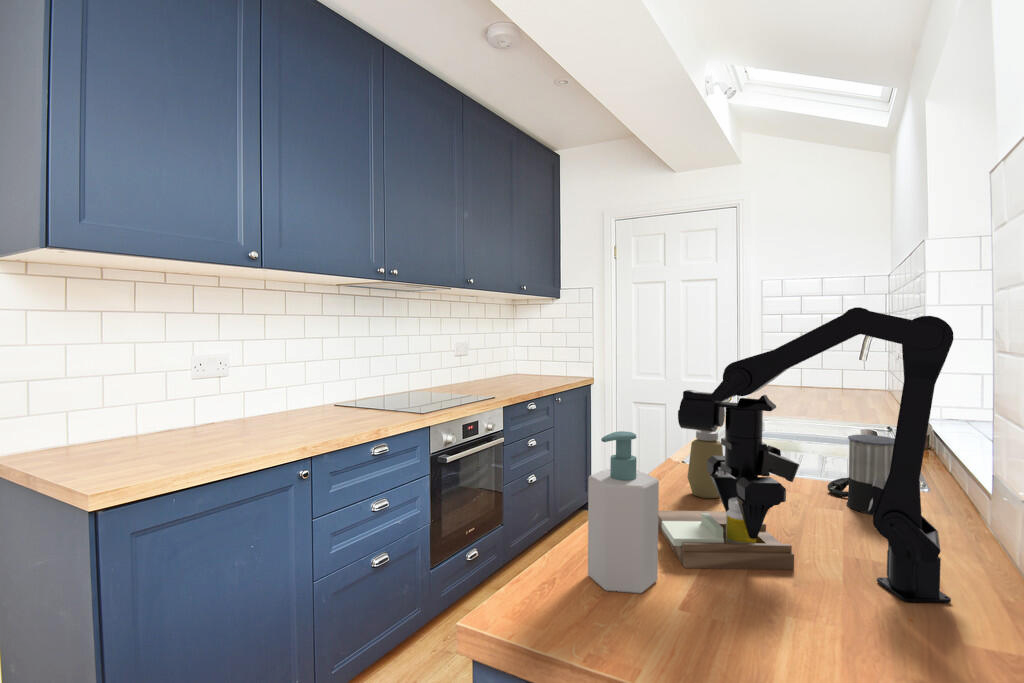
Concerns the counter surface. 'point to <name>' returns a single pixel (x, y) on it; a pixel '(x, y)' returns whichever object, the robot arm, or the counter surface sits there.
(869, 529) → the counter surface
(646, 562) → the soap bottle
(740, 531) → the supplement bottle
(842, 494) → the milk frother
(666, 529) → the cover
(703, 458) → the squeeze bottle
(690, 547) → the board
